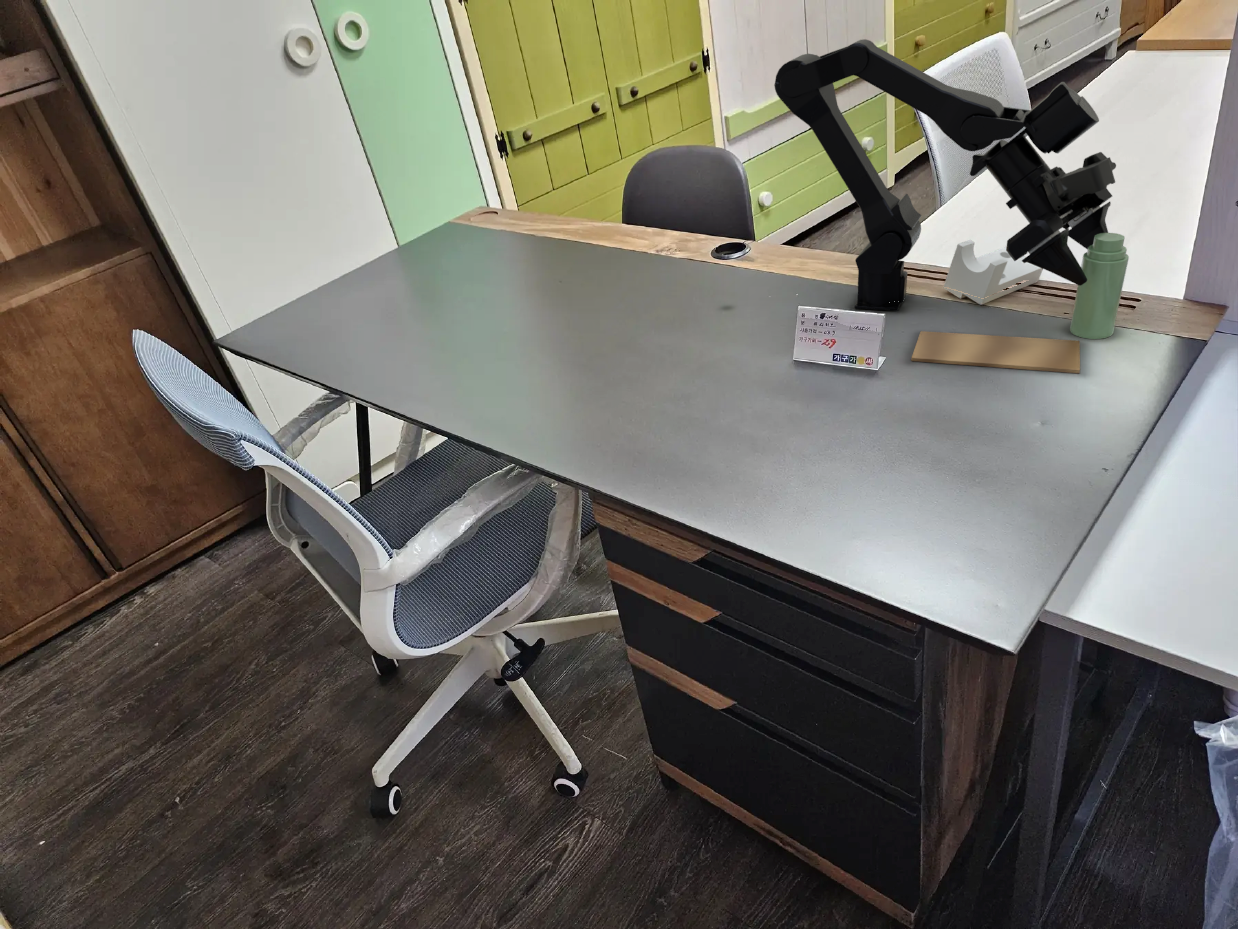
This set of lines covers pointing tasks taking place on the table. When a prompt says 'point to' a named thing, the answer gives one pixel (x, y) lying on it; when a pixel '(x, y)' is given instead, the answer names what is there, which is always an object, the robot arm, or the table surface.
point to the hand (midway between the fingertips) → (1099, 272)
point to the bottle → (1100, 287)
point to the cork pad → (998, 351)
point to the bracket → (987, 273)
